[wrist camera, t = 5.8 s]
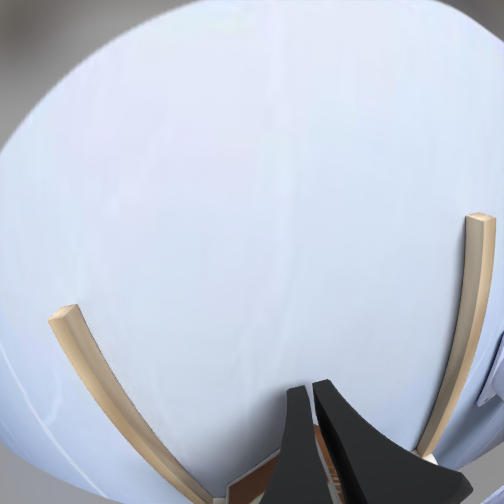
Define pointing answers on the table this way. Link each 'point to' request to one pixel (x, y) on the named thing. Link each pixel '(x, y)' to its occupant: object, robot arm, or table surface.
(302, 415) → the robot arm
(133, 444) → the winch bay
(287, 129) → the table surface
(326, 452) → the food container
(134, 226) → the table surface
